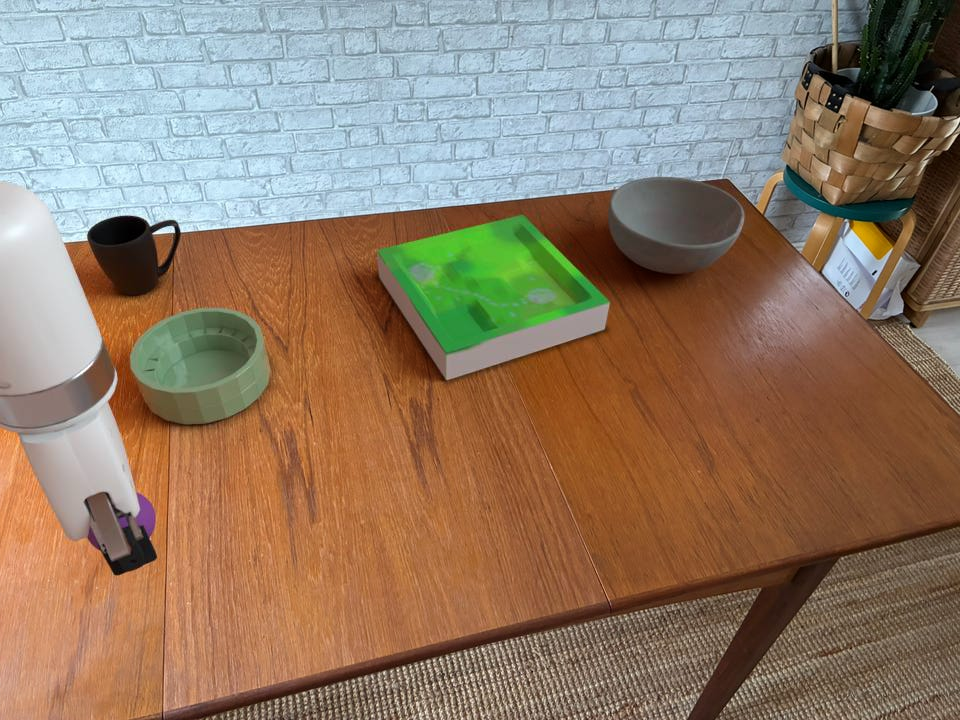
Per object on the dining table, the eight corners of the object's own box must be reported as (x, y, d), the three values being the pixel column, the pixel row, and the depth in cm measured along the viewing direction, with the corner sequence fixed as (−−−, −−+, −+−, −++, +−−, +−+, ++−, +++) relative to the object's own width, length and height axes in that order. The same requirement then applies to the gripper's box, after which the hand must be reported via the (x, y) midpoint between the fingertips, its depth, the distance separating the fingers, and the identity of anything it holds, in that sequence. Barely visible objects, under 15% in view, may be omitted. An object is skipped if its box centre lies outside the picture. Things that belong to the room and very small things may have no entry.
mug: (199, 284, 106) (182, 230, 99) (114, 308, 101) (91, 252, 95) (186, 256, 111) (169, 203, 104) (104, 277, 106) (82, 223, 100)
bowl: (609, 217, 124) (619, 165, 117) (728, 237, 120) (745, 185, 113) (591, 282, 109) (601, 227, 102) (726, 308, 106) (745, 252, 99)
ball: (139, 573, 55) (120, 537, 52) (82, 558, 56) (60, 521, 52) (174, 522, 59) (159, 484, 55) (121, 508, 59) (102, 471, 56)
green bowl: (235, 438, 84) (224, 403, 80) (118, 412, 87) (102, 377, 82) (290, 353, 95) (283, 319, 91) (186, 333, 98) (175, 298, 94)
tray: (520, 240, 117) (522, 214, 114) (604, 329, 101) (610, 302, 98) (379, 277, 109) (376, 250, 105) (446, 380, 92) (446, 352, 89)
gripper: (-31, 318, 48) (61, 482, 61) (-8, 493, 38) (98, 649, 50) (87, 288, 52) (152, 450, 64) (138, 442, 41) (204, 601, 53)
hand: (127, 536), depth 57 cm, fingers closed on ball, 4 cm apart
